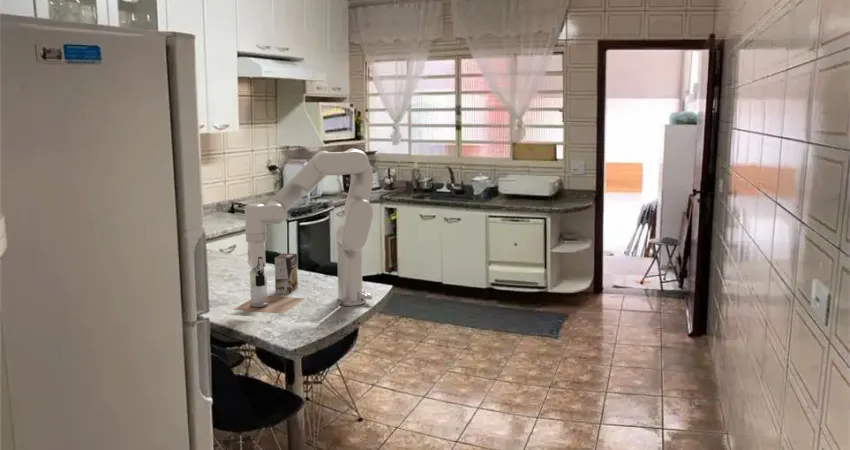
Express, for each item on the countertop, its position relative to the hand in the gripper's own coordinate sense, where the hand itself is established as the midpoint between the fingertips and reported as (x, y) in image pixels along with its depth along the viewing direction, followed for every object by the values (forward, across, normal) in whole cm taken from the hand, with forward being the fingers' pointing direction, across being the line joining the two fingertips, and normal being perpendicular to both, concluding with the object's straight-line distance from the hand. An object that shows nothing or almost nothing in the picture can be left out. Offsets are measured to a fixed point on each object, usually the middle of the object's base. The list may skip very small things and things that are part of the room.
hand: (258, 283), depth 261 cm
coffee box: (+10, -16, +15) cm, 24 cm away
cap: (+1, 0, 0) cm, 1 cm away
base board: (+10, 0, +4) cm, 11 cm away
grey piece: (+9, 0, 0) cm, 9 cm away
